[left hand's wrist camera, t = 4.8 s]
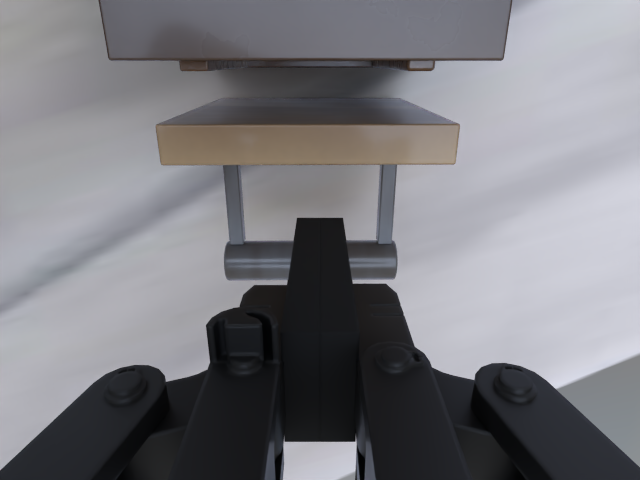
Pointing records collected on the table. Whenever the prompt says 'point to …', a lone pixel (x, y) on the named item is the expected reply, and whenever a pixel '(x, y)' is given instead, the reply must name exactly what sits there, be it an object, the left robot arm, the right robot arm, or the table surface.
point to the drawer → (307, 155)
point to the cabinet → (305, 30)
